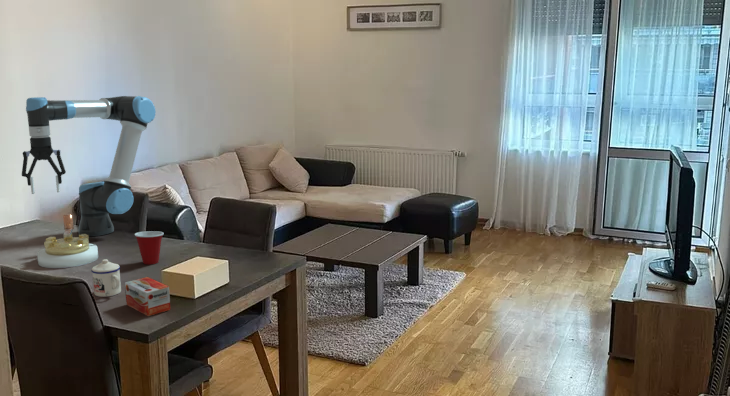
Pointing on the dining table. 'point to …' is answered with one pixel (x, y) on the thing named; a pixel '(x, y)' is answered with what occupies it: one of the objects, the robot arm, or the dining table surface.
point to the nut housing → (68, 258)
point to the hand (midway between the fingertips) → (45, 192)
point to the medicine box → (147, 296)
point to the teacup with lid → (106, 279)
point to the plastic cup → (149, 246)
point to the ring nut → (67, 240)
